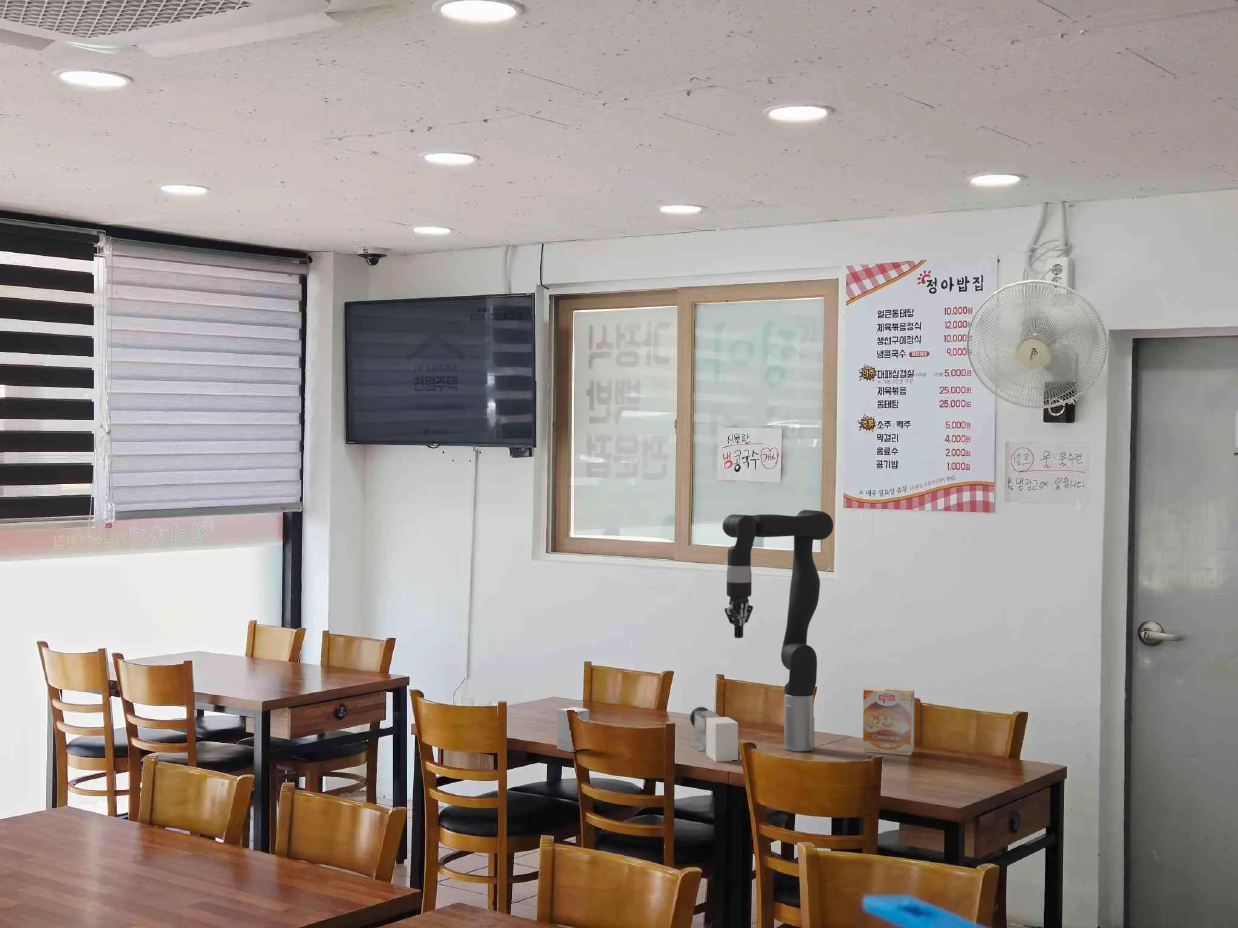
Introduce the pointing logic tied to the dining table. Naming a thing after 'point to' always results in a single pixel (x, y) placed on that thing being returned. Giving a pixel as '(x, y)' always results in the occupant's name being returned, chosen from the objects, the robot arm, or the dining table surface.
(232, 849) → the dining table surface
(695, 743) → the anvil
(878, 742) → the coffeecake box
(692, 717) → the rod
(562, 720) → the supplement box
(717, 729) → the white rectangular block
